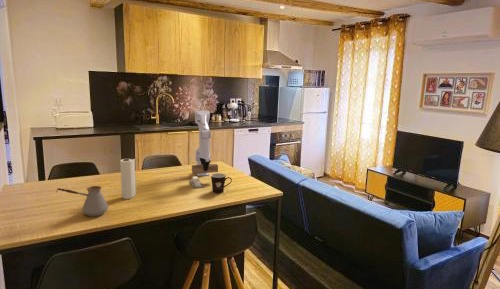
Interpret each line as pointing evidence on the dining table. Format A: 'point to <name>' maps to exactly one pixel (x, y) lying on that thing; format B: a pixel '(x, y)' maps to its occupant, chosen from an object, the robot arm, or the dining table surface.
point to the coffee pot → (92, 201)
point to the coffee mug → (218, 182)
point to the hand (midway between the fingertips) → (204, 169)
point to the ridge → (196, 183)
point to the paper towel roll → (128, 178)
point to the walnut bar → (199, 169)
